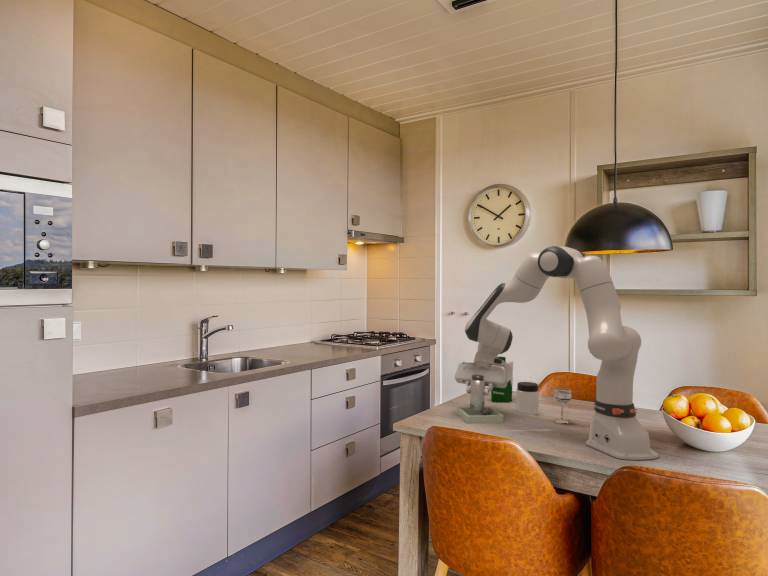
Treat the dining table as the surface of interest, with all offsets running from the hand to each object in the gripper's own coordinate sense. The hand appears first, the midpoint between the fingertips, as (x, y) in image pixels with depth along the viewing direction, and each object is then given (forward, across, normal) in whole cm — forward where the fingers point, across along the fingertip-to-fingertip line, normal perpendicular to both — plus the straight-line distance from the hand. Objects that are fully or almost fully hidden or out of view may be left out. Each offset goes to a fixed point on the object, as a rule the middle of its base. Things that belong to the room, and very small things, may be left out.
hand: (477, 393), depth 197 cm
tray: (+6, 0, +10) cm, 11 cm away
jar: (-9, +14, +24) cm, 30 cm away
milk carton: (-20, 0, +36) cm, 41 cm away
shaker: (+4, 0, +5) cm, 6 cm away
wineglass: (-4, +29, +19) cm, 35 cm away
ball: (+1, +1, +13) cm, 13 cm away
